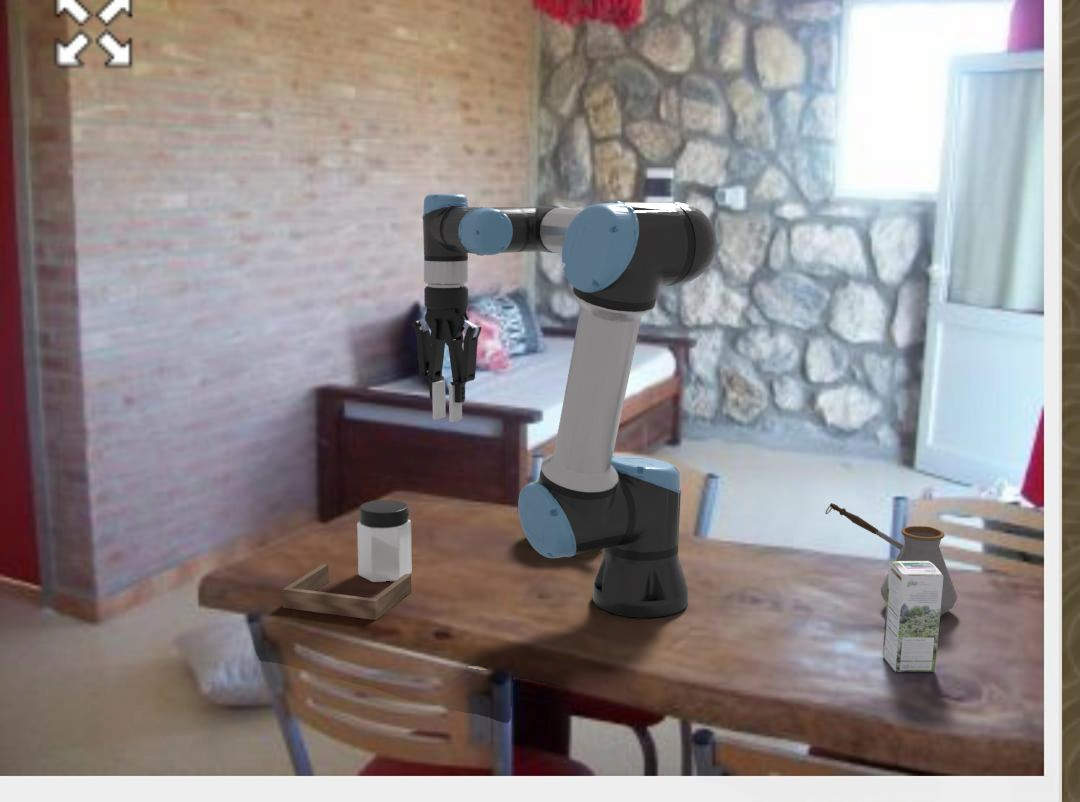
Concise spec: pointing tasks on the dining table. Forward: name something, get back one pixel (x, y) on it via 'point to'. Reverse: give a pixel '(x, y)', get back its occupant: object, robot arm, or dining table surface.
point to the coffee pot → (914, 552)
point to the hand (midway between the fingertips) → (447, 419)
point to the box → (341, 597)
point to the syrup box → (912, 616)
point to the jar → (384, 541)
